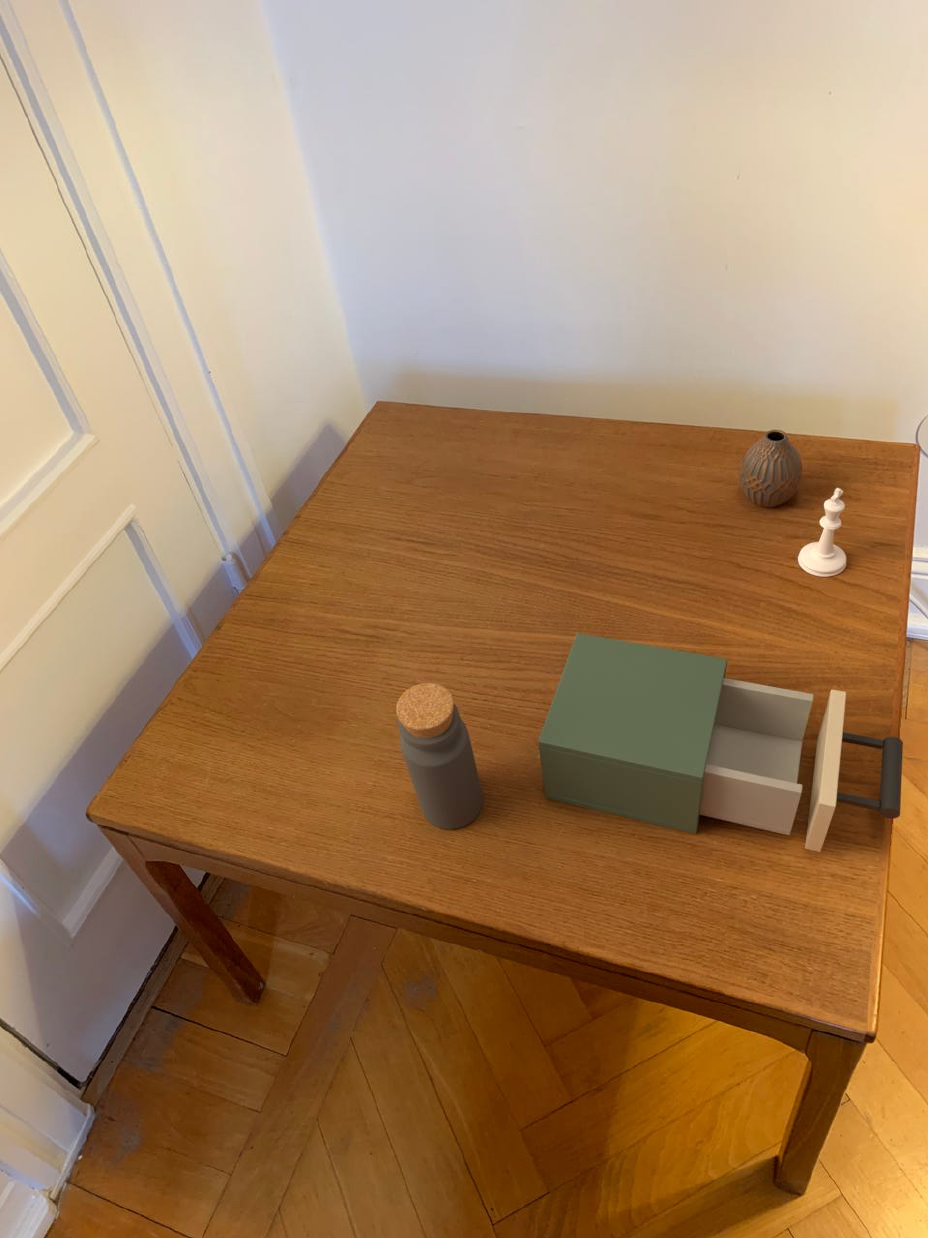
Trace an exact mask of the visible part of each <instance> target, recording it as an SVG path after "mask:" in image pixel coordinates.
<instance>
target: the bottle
mask: <svg viewBox="0 0 928 1238" xmlns="http://www.w3.org/2000/svg"><path fill="white" fill-rule="evenodd" d="M395 710H396V717H397V718H398V730H399V733H400V740H399V741H400V749H401V753H402V757H403V759H404V762H405V765H406V768H407V771H408V775H409V777H410V780H411V783H412V786H413V789H414V792H415V795H416V798H417V801H418V803H419V807H420V809H421V811H422V814H423V816H424V817H425V819H426V820H427V821H428V823H430V824H431V825H432V826H434V827H436V828H439V829H441V830H450V831H451V830H458V829H461V828H463V827H465V826H467V825H469V824H470V823H472V822H473V821H474V820H475V819H476V818H477V817H478V815H479V814H480V812H481V810H482V807H483V804H484V803H483V802H484V797H483V790H482V785H481V781H480V777H479V776H480V775H479V772H478V768H477V762H476V759H475V755H474V751H473V747H472V742H471V739H470V734H469V731H468V730H469V729H468V727H467V725H466V723H465V722H464V721H463V719H462V718H461V715H460V711H459V708H458V706H457V705H456V704H455V700H454V696H453V695H452V693H451V691H450V690H449V689H448V688H447V687H445V686H443V685H442V684H440V683H435V682H423V683H419V684H416V685H413V686H411V687H409V688H407V690H405V691H403V693H402V694H401V696H400V697H399V699H398V700H397V703H396V707H395Z"/></svg>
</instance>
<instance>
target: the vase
mask: <svg viewBox="0 0 928 1238" xmlns="http://www.w3.org/2000/svg"><path fill="white" fill-rule="evenodd" d="M802 477H803V462H802V458H801V455H800V452H799V451H798V448H796V446H795V445H794V444H793V443H792V442H791V441H790V439H789V437H788V434H787V433H786V432H785V431H783V430H781V429H770V430H768V431H766V432H765V433H764V435H763V436H762V437H761V438H760V439H759V440H757V441H756V442H755V443H753V444H752V445H751V446H750V447H749V448H748V449H747V450H746V452H745V453H744V455H743V457H742V460H741V462H740V464H739V470H738V481H739V487H740V489H741V492H742V494H743V496H744V497H745V498H746V499H747V500H748V501H749V502H751V503H752V504H754V505H755V506H758V507H762V508H773V507H777V506H780V505H782V504H784V503H787V501H789V500H790V499H792V497H793V496H794V495H795V494H796V493H797V490H798V489H799V486H800V484H801V481H802Z"/></svg>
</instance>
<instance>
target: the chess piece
mask: <svg viewBox="0 0 928 1238" xmlns="http://www.w3.org/2000/svg"><path fill="white" fill-rule="evenodd" d="M843 494H844V490H842V489H841V488H840V487H836V488H835V489H834V492H833V495H832V496H830V498H829V499H827V500H825V501H824V502H823V509H824V512H825V513H824V514H825V515H824V516H822V517H821V518H820V520H819V525H820V526H821V528H823V530H822V532H821V535H820V538H819V540H818V541H814V542H810V543H807V544H806V545H805V546H803V547H802V548H800V549H801V550H800V551H799V554H798V557H797V563H798V565H799V566H800V568H801V569H802V570H803V571H805V572H806V573H807V574H810V575H812V576H816V577H821V578H822V577H823V578H827V577H834V576H837V575H839V574H840V573H842V572H843V571H844V570H845V568H846V566H847V555H846V552H845V551H844V550H843V549H842V548H841V547H839V546H838V545H836V544H834V537H835V530H838V529H839V528H841V527H842V519H840V518H839V517H840V515H841V514H842V513H843V512H844V510H845V508H846V504H845V502H844V501H843V500H841V499H840V497H841V496H843Z"/></svg>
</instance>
